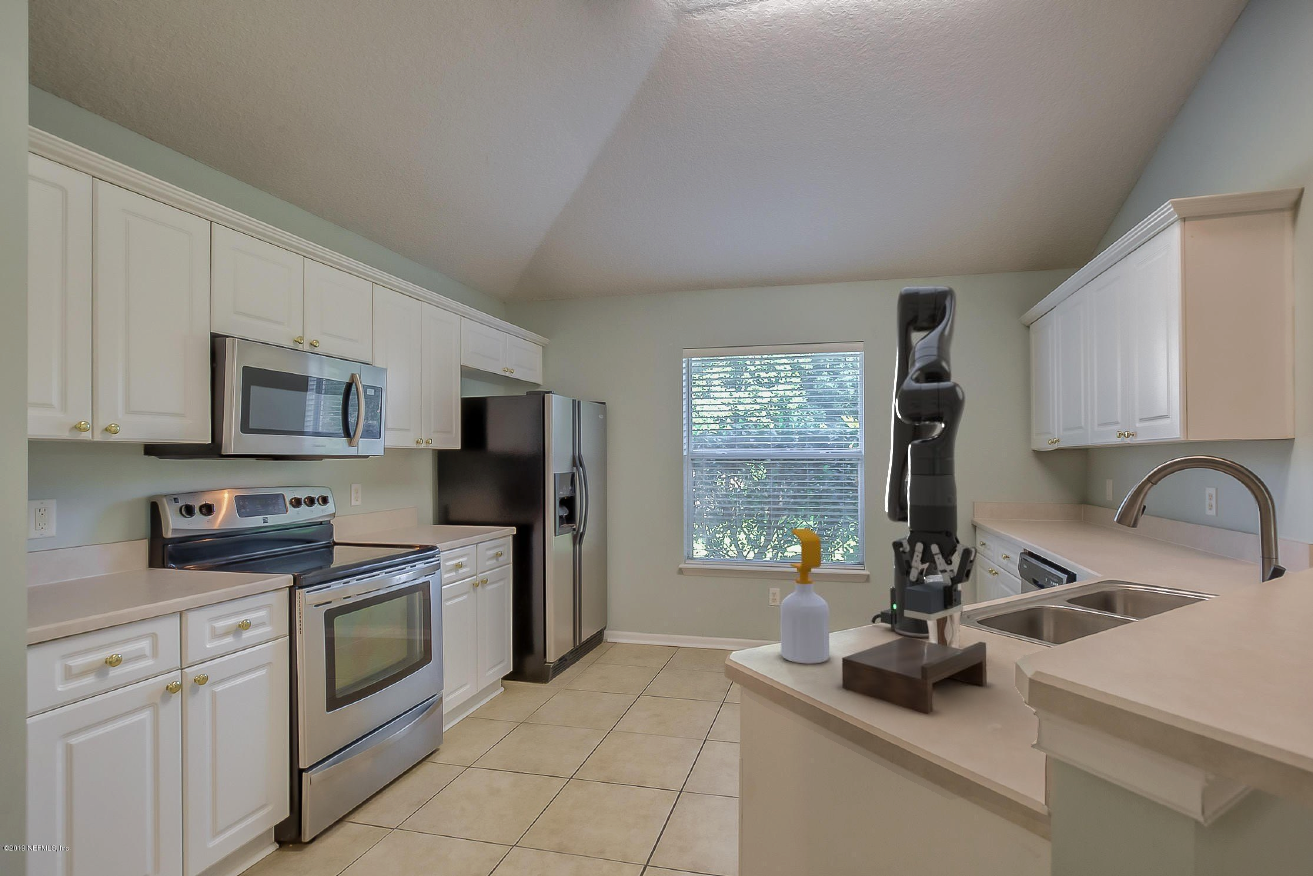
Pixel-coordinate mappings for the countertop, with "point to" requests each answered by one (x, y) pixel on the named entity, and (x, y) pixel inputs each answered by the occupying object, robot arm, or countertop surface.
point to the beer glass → (944, 622)
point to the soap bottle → (805, 609)
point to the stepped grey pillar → (928, 601)
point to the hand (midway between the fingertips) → (933, 605)
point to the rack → (911, 670)
